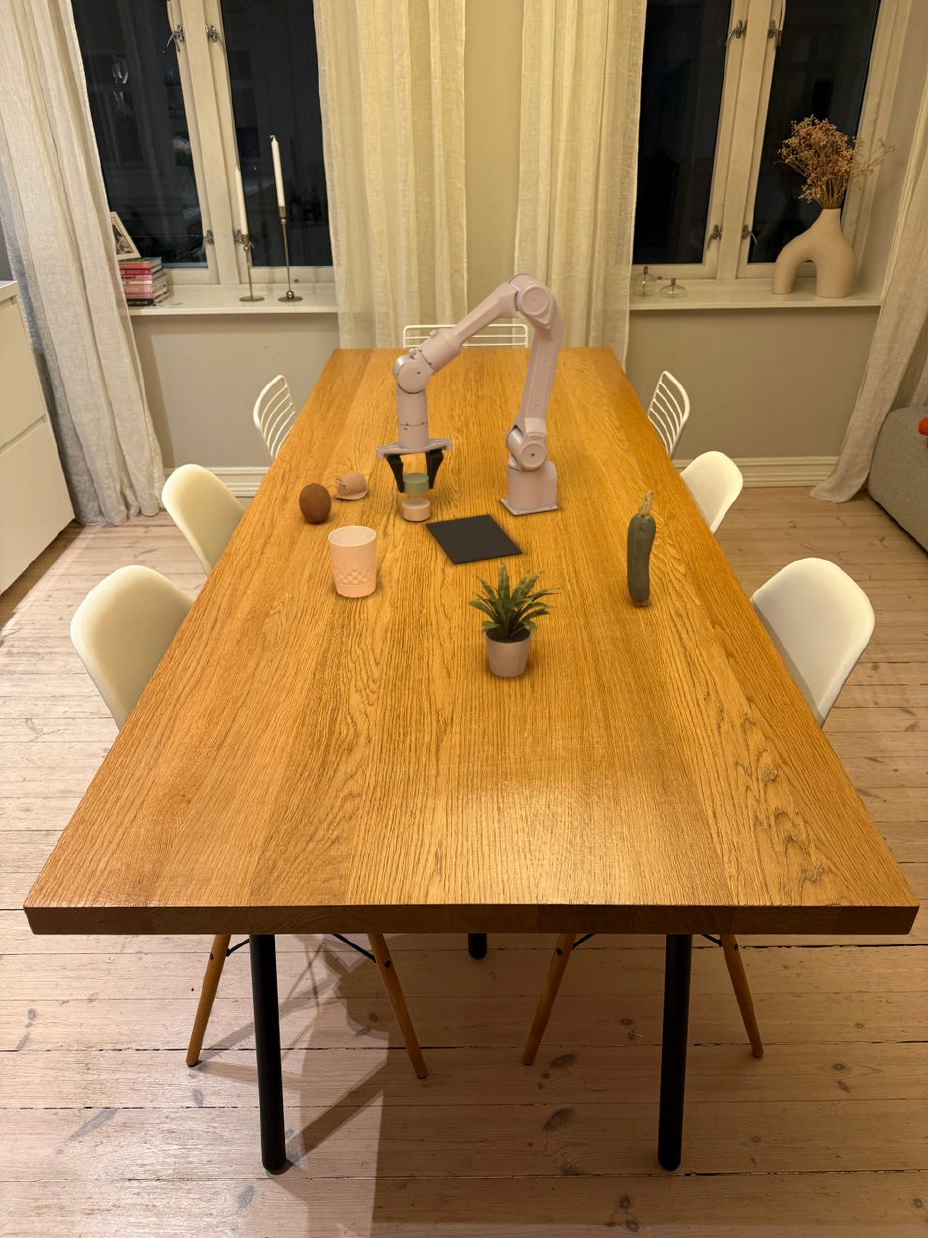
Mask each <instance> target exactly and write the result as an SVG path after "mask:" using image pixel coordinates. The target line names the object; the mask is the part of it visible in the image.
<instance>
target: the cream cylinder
mask: <svg viewBox="0 0 928 1238" xmlns="http://www.w3.org/2000/svg"><path fill="white" fill-rule="evenodd" d="M401 505H402V517H403V518H404V519H405V520H407V521H409V522H410V521H411V522H421V521H425V520H428V519H429V518H431V502H430V500H428V499H427V498H423V497H412V498H408V499H405V500H403V502H402V504H401Z"/></svg>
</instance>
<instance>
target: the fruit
mask: <svg viewBox="0 0 928 1238" xmlns="http://www.w3.org/2000/svg"><path fill="white" fill-rule="evenodd" d="M298 504H299V510H300V511H301V514H302V516H303V517H304V518H305V519H306V520H308V521H310V522H313V523H321V522H323V521H324V520H325V519H326V520H327V518H328V517H329V515H330V513H331V511H332V498H331V494H330V492H329V490H328V489H327V488H326V486H324V485H323V484H320V483H315V482H312V483H310V484H307V485H305V486H304V487H303V488H302V489H301V491H300V494H299V497H298Z"/></svg>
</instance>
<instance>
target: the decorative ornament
mask: <svg viewBox="0 0 928 1238" xmlns="http://www.w3.org/2000/svg"><path fill="white" fill-rule="evenodd" d="M333 481H334V482H335V483H336V484H337V485H338V487H337V494H336V496H335V497H334V498H335V499H342V500H347V501H348V500H349V501H350V500H351V501H355V500H356V501H358V500H360V499H363V498H364V497H365V496H366V495H367V494H368V492H369V490H368V488H367V487H368V485H367V479H366V477H365V476H364V474H363V473H361V472H359V471H354V472H353V471H352V472H350V473H348V474H346V475H344V477H342V478H340V477H337V476H335V477H333Z"/></svg>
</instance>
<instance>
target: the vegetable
mask: <svg viewBox="0 0 928 1238" xmlns="http://www.w3.org/2000/svg"><path fill="white" fill-rule="evenodd" d="M653 495H654V490H652V489H651V488H649V489H648V491H647V492H646V494H645V495H644V497H643V500H642V501H641V502H640V504H639V507H638V511H637V513H636V514H634V515H633V516H632V517H631V519H630V521H629V524H628V528H627V535H626V536H627V537H626V582H627V583H626V584H627V590H628V593H629V596H630V598H631V600H632V601H633V602H634V603H635V604H636V605H637V606H639V605H640V606H644V607H646V605H647V604H649V603H650V595H651V579H650V578H651V577H650V560H651V559H650V558H651V553H652V551H653V550H652V549H653V546H654V542H655V540H656V539H655V538H656V535H657V534H656V533H657V523H656V520H655V518H654V517H653V515H652V514H650V513H651V510H652V508H653V507H652V506H653V499H654V497H653Z"/></svg>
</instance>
